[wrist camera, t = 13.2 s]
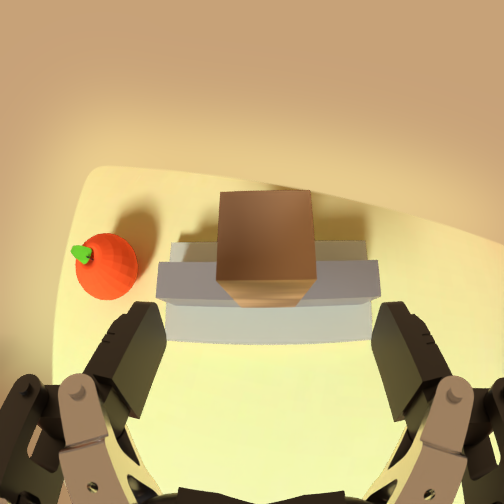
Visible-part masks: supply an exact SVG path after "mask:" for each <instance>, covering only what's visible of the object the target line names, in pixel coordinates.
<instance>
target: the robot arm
mask: <svg viewBox="0 0 504 504" xmlns="http://www.w3.org/2000/svg"><path fill="white" fill-rule="evenodd" d="M166 343H167V337H166V332H165V329H164V326H163V322H162V319H161V316H160V312H159V309H158V306H157V304H156V303H154V302H140V301H136V302H134V303H133V305H132V307H131V308H130V310H129V311H128V313H127V314H122V315H121V316H120V317H119V318H118V319H116V320H115V321H114V322H113V323H112V325H111V326H110V328H109V329H108V331H107V334H105V336H104V338H103V339H102V343H101V342H100V344H99V346H98V347H97V349H96V351H95V352H94V354H93V356H92V358H91V359H90V361H89V363H88V364H87V366H86V368H85V370H84V371H83V373H82V374H81V373H79V374H73V375H71V376H69V377H67V378H66V379H65V380H64V381H63V382H62V383H61V385H43V384H42V382H41V381H40V380H39V379H38V377H37V376H35V375H33V374H26V375H23V376H21V377H20V378H19V379H18V380H17V381H16V382H15V383H14V385H13V387H12V389H11V390H10V392H9V394H8V396H7V398H6V400H5V401H4V403H3V405H2V407H1V409H0V504H57V502H58V499H59V495H60V491H61V488H62V484H63V481H64V480H65V483H66V487H67V490H68V493H69V496H70V499H71V502H72V504H254V503H250V502H246V501H242V500H239V499H235V498H232V497H229V496H225V495H222V494H219V493H213V492H205V491H198V490H192V489H187V488H181V487H179V489H178V493H171V494H164V495H163V494H162V492H161V490H160V488H159V486H158V485H157V483H156V482H155V480H154V479H153V477H152V476H151V475H150V474H149V472H148V471H147V469H146V468H145V466H144V464H143V462H142V459H141V457H140V455H139V453H138V451H137V448H136V446H135V444H134V441H133V439H132V436H131V434H130V431H129V429H128V427H127V425H126V421H127V419H128V416H129V417H133V418H137V419H140V416H141V413H142V410H143V408H144V405H145V402H146V399H147V396H148V394H149V391H150V388H151V386H152V383H153V380H154V377H155V375H156V372H157V369H158V367H159V364H160V362H161V359H162V356H163V354H164V351H165V348H166ZM371 346H372V351H373V354H374V357H375V360H376V363H377V366H378V369H379V372H380V375H381V378H382V382H383V385H384V388H385V391H386V395H387V398H388V402H389V405H390V409H391V412H392V416H393V420H394V422H397V421H401V420H405V421H406V424H407V426H406V427H405V429H404V431H403V433H402V435H401V437H400V439H399V441H398V443H397V445H396V447H395V449H394V451H393V453H392V455H391V457H390V459H389V461H388V463H387V464H386V466H385V468H384V470H383V471H382V473H381V474H380V476H379V477H378V478H377V479H376V480H375V481H374V483H373V484H372V485H371V487H370V488H369V489H368V491H367V492H366V494H365V495H364V497H363V498H362V499H358V498H353V497H345V492H344V491H337V492H330V493H321V494H310V495H302V496H299V497H295V498H291V499H287V500H283V501H279V502H274V503H269V504H452V503H453V501H454V498H455V496H456V493H457V491H458V488H459V486H460V483H461V481H462V487H463V493H464V501H465V504H504V378H499V379H498V380H496V381H495V383H494V384H493V385H492V386H491V388H472V387H471V385H470V384H469V383H468V382H467V381H466V380H465V379H463V378H461V377H459V376H453V375H452V373H451V371H450V369H449V367H448V365H447V363H446V361H445V359H444V357H443V355H442V354H441V352H440V350H439V348H438V346H437V344H435V340H434V339H433V337H432V335H430V332H429V330H428V328H427V326H426V325H425V323H424V322H423V321H422V320H421V319H420V318H419V317H417V316H416V315H415V314H410V312H409V311H408V309H407V307H406V305H405V304H404V303H403V302H402V301H398V302H384V303H382V304H381V306H380V309H379V313H378V316H377V319H376V323H375V326H374V329H373V332H372V337H371ZM36 425H38V426H39V427H40V428H41V429H42V431H41V433H40V436H39V439H38V441H37V443H36V446H35V449H34V451H33V454H32V456H31V457H30V458H29V456H28V454H27V447H28V444H29V442H30V439H31V437H32V435H33V432H34V430H35V428H36ZM493 431H494V434H495V437H496V441H497V444H498V447H499V451H500V455H501V460H500V463H499V465H497V463H496V460H495V456H494V452H493V448H492V445H491V441H490V438H489V435H490V434H491V433H492V432H493Z"/></svg>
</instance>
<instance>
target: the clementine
mask: <svg viewBox="0 0 504 504" xmlns="http://www.w3.org/2000/svg"><path fill="white" fill-rule="evenodd" d="M71 253H72V254H73V256H74V257H75V258H76V264H75V265H76V275H77V278H78V281H79V283H80V284H81V286H82V287H83V288H84V290H85V291H86V292H87V293H89V294H90V295H91V296H93V297H95V298H98V299H101V300H114V299H117V298H119V297H121V296H123V295H124V294H126V293H127V292H128V291H129V290H130V289H131V288H132V286H133V284H134V282H135V280H136V277H137V273H138V264H137V258H136V254H135V252H134V250H133V248H132V247H131V246H130V245H129V244H128V242H127V241H126V240H125V239H123V238H121V237H119V236H117V235H115V234H110V233H103V234H97V235H95V236H93V237H91V238H90V239H88V240H87V241H86V242H85V243H84V244H83V245H82V246H80V245H76V246H73V247H72V250H71Z"/></svg>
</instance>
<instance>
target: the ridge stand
mask: <svg viewBox="0 0 504 504" xmlns="http://www.w3.org/2000/svg"><path fill="white" fill-rule="evenodd" d="M315 254H316V270H317V280H316V281H315V283H314V284H313V285H312V286H311V288H310V289H309V290H308V291H307V293H306V294H305V295H304V296H303V298H302V299H301V300H300V301H299V303H298V304H297V305H296V306H295V307H282V308H241V307H240V306H239V305H238V304H237V303H236V302H235V301H234V299H233V298H232V297H231V296H230V295H229V294H228V293H227V292H226V291H225V290H224V289H223V288H222V287H221V286H220V285H219V283H218V282H217V281H216V263H217V242H178V243H171V253H170V262H159V266H158V277H157V289H156V298H158V299H160V300H163V301H165V302H167V303H166V322H165V332H166V337H167V340H168V341H181V342H195V343H213V344H244V345H286V344H316V343H335V342H349V341H361V340H371V337H372V313H371V300H374V299H376V298H378V297H381V289H380V277H379V267H378V260H367V251H366V243H365V241H315Z"/></svg>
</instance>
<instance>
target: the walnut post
mask: <svg viewBox="0 0 504 504" xmlns="http://www.w3.org/2000/svg"><path fill="white" fill-rule="evenodd" d="M316 280H317V270H316V254H315V239H314V226H313V215H312V204H311V194H310V190H272V191H234V192H220V206H219V223H218V241H217V263H216V281H217V282H218V283H219V285H220V286H221V287H222V288H223V289H224V290H225V291H226V292H227V293H228V294H229V295H230V296H231V297H232V298H233V299H234V301H235V302H236V303H237V304H238V305H239V306H240V307H241V308H282V307H295V306H296V305H297V304H298V303H299V301H300V300H301V299H302V298H303V296H304V295H305V294H306V293H307V291H308V290H309V289H310V288H311V286H312V285H313V284H314V283H315V281H316Z"/></svg>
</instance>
